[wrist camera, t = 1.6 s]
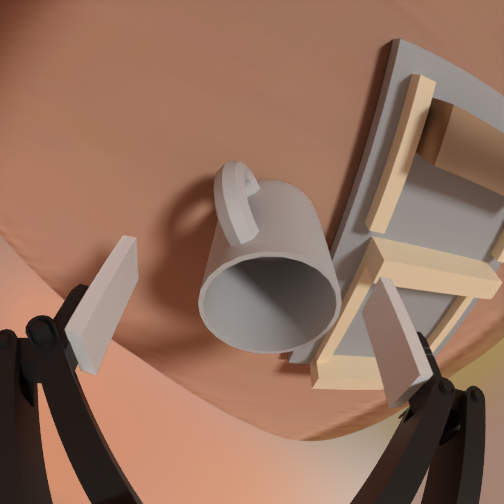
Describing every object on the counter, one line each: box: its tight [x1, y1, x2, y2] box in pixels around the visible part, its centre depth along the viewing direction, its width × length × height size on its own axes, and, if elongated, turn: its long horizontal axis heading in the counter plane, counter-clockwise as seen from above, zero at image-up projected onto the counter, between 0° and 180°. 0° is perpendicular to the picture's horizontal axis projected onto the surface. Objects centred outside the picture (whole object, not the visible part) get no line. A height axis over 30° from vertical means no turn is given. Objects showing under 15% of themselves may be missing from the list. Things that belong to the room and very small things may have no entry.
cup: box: [198, 161, 342, 354], centre depth 18 cm, size 7×10×9 cm
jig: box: [288, 38, 504, 390], centre depth 22 cm, size 30×18×4 cm, turn 170°
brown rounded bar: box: [416, 97, 504, 196], centre depth 16 cm, size 4×12×3 cm, turn 80°
